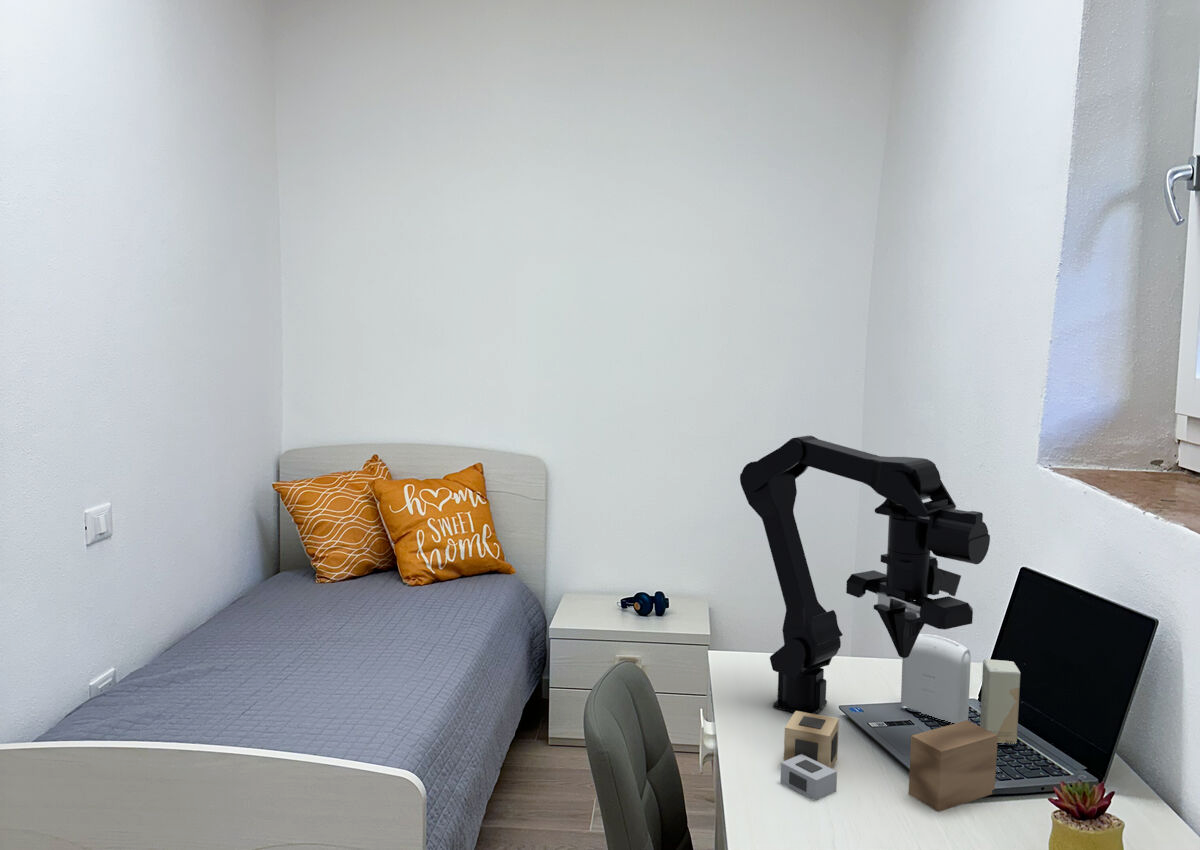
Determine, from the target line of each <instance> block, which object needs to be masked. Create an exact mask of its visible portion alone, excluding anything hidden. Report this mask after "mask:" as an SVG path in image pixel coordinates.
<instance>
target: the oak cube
mask: <svg viewBox="0 0 1200 850" xmlns="http://www.w3.org/2000/svg"><path fill="white" fill-rule="evenodd" d="M839 722H840V718H838V717H833V716H826V715H821V714H817V713H815V714H811V713H805V712H800V711H795V713H793V714H792V715H791V717H790V719H789V720H788V722H787V723H786V725H785V726H784V744H783V745H784V746H783V747H784V748H783V761H786V760H788V759H791V758H793V757H796V756H798V755H800V754H803V755H805V756H807V757H809V758H811V759H813V760H815V761H817V762H819V763H821V764H823V765H825V766H827V767H829V768H831V769H833V770H834V767H835V766H836V763H837V762H838V754H839V753H838V752H839V751H838V750H839V748H838V747H839V729H840V728H839V727H840V725H839V724H840V723H839Z"/></svg>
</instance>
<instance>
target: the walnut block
mask: <svg viewBox="0 0 1200 850" xmlns="http://www.w3.org/2000/svg"><path fill="white" fill-rule="evenodd" d="M997 743H998V735H997V734H995V733H992V732H990V731H988V730H986V729H984V728H982V727H980V725H978V724H976V723H974V722H971V721H969V719H968V720H966V721H962V722H959V723H955V724H952V723H951V724H949V725H945V726H941V727H938V728H935V729H930V730H926V731H924V732H923V731H922V732H919V733H915V734H911V736H910V751H909V752H910V754H909V755H910V756H909V773H908V774H909V775H908V793H907V794H908V796H909V795H910V796H911V797H913V798H914V799H916V800H918V801H919V802H921V803H923V804H924V805H926V806H928V807H929V808H931V809H932V810H934V811H935V812H937V813H939V812H943V811H945V810H946V811H947V810H948V809H951V808H955V807H957V806H962V805H963V804H966V803H969V802H973V801H976V800H980V799H982V798H984V797H988V796H992V795H994V794H993V793H992V790H994V789H996V775H997V774H996V771H997V755H998V745H997Z"/></svg>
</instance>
